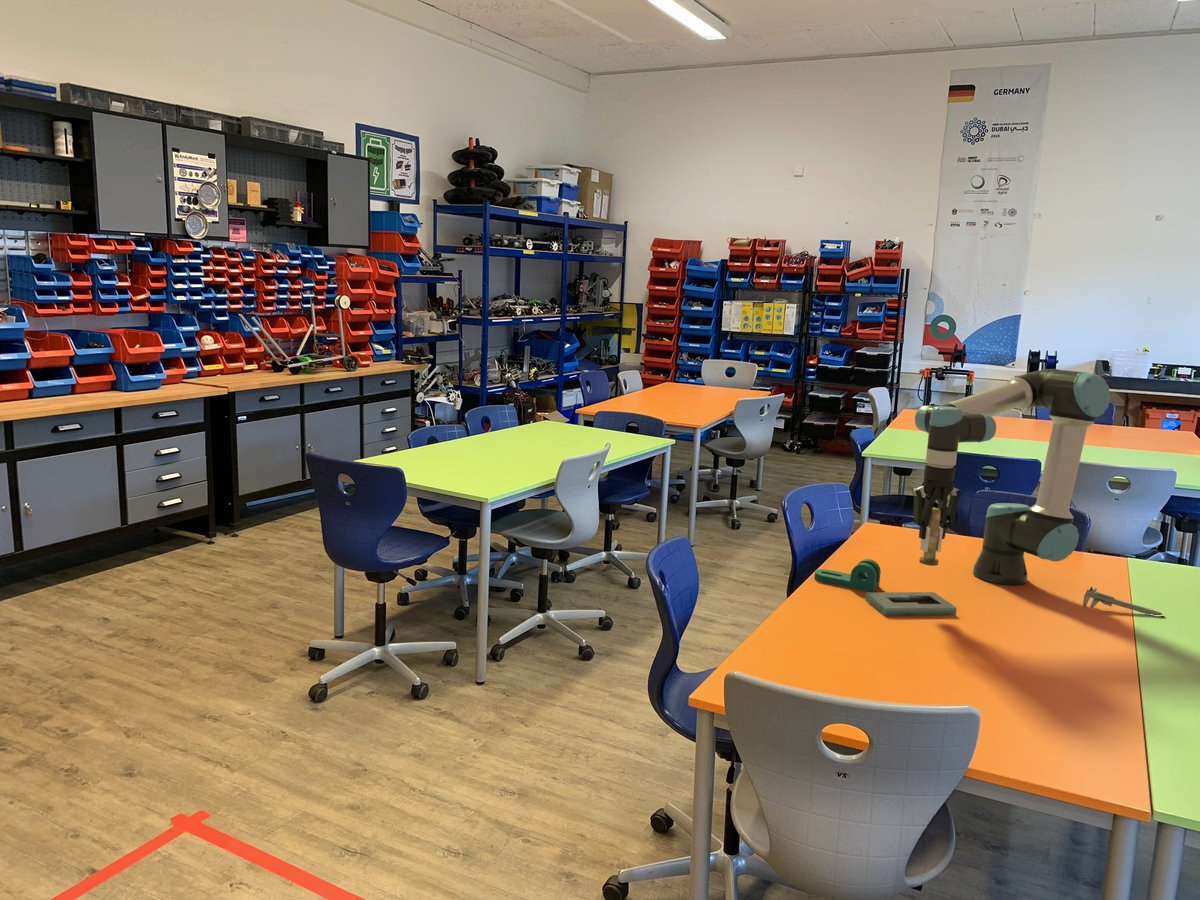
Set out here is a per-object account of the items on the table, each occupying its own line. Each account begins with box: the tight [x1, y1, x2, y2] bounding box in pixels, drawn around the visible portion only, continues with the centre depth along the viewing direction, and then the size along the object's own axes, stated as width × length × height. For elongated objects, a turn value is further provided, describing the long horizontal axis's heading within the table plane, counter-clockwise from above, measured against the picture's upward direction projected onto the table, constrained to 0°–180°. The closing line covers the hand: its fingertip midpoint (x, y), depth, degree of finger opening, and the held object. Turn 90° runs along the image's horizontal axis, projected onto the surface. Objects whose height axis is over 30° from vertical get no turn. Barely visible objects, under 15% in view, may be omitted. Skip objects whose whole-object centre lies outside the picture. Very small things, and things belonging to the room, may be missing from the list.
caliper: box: [1082, 586, 1163, 615], centre depth 242 cm, size 20×1×6 cm, turn 73°
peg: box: [919, 507, 941, 567], centre depth 235 cm, size 5×5×15 cm
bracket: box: [813, 558, 882, 592], centre depth 256 cm, size 18×7×8 cm, turn 59°
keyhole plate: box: [865, 591, 957, 617], centre depth 238 cm, size 20×12×2 cm, turn 98°
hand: (930, 550), depth 236 cm, fingers closed on peg, 3 cm apart
